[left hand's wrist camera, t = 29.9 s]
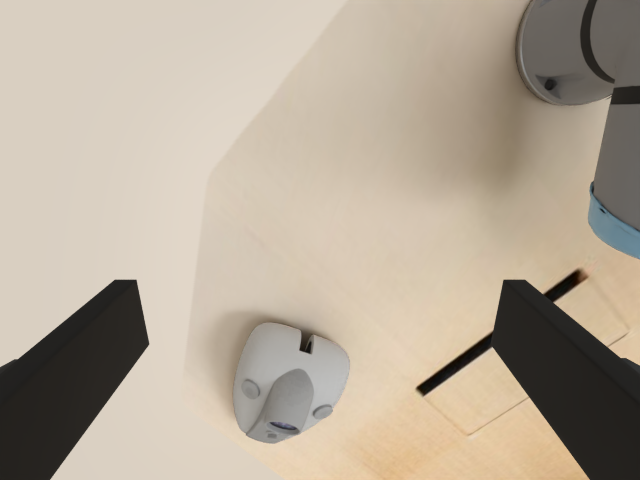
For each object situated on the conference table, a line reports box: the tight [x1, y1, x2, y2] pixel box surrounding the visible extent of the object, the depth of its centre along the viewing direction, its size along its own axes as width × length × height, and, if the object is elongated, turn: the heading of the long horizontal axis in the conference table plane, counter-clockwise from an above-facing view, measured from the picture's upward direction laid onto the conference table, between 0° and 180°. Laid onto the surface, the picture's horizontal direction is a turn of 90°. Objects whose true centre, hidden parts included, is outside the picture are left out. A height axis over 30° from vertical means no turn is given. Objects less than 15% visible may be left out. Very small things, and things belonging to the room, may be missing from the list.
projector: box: [233, 322, 350, 444], centre depth 52 cm, size 22×23×15 cm
